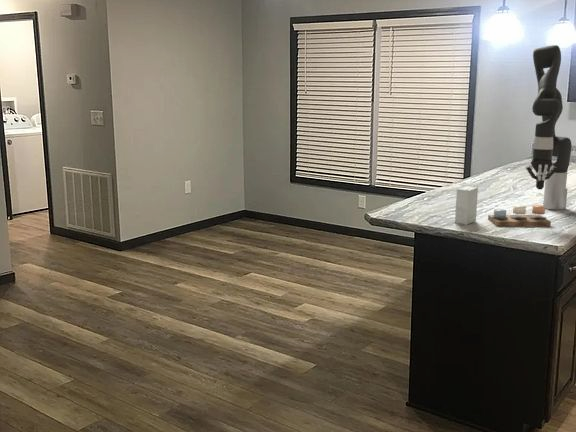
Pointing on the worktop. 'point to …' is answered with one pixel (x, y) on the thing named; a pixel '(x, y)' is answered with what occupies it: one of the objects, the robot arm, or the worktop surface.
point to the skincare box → (466, 205)
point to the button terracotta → (538, 209)
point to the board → (520, 220)
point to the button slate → (499, 213)
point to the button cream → (519, 209)
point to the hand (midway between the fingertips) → (539, 189)
